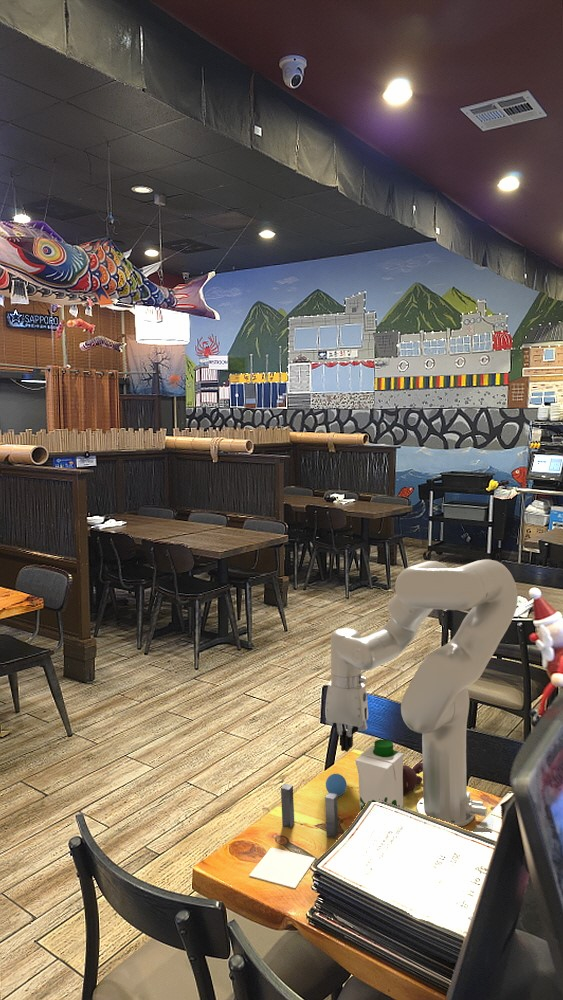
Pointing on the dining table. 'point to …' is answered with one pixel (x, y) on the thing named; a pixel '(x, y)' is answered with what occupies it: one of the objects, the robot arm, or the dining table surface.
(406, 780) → the icecream
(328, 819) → the right post
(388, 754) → the milk carton
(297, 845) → the dining table surface
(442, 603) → the robot arm
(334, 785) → the ball
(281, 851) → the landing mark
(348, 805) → the dining table surface
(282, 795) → the left post
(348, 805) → the dining table surface
